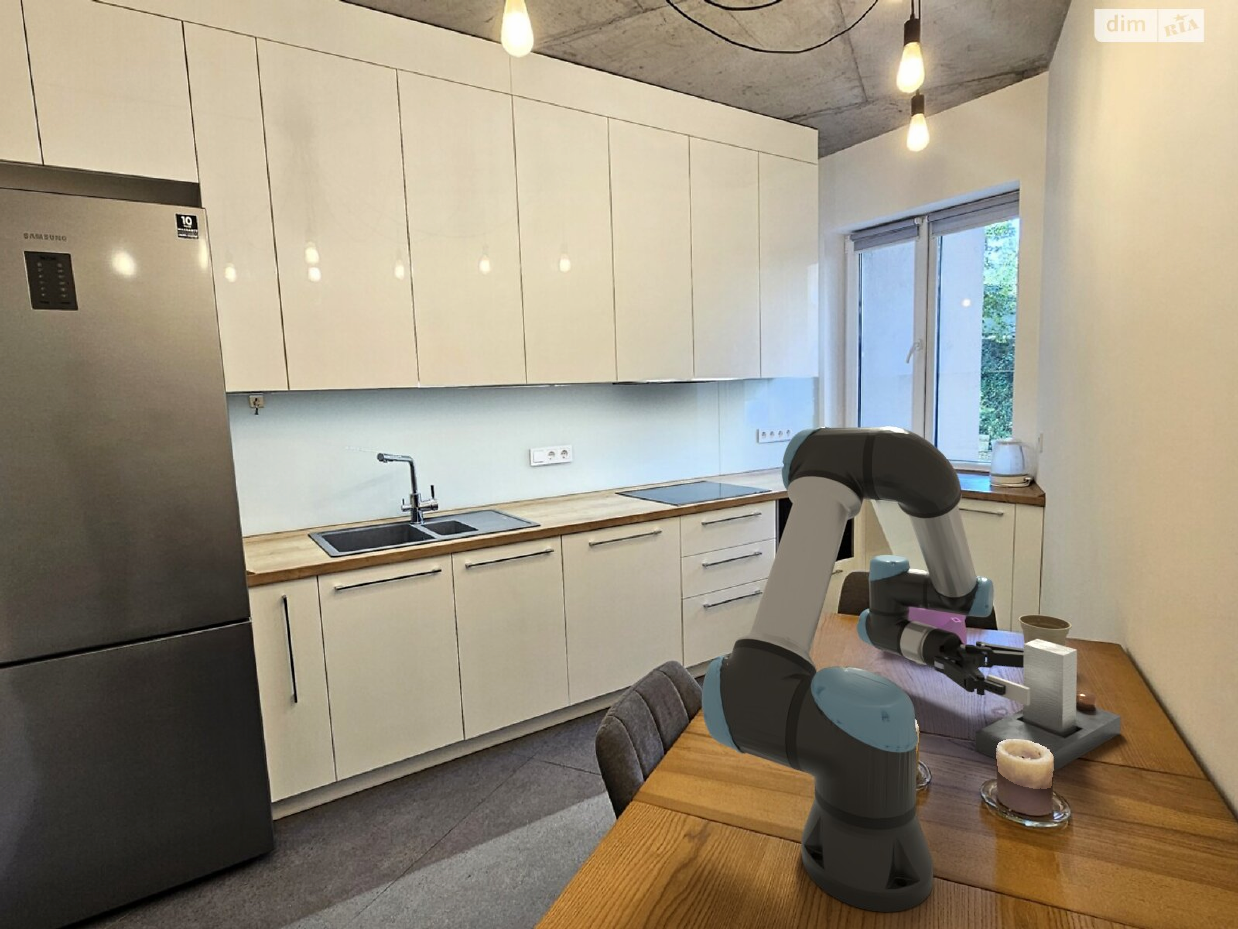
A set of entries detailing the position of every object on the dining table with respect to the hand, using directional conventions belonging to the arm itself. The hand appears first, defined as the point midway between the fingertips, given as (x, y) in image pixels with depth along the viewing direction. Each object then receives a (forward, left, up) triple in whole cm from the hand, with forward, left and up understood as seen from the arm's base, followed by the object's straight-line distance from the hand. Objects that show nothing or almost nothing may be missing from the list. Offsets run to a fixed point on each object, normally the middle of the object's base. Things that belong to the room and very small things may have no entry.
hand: (1052, 686), depth 105 cm
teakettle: (+38, +21, -10) cm, 44 cm away
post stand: (0, 0, -9) cm, 9 cm away
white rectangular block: (0, 0, -9) cm, 9 cm away
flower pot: (+37, -1, -10) cm, 38 cm away
